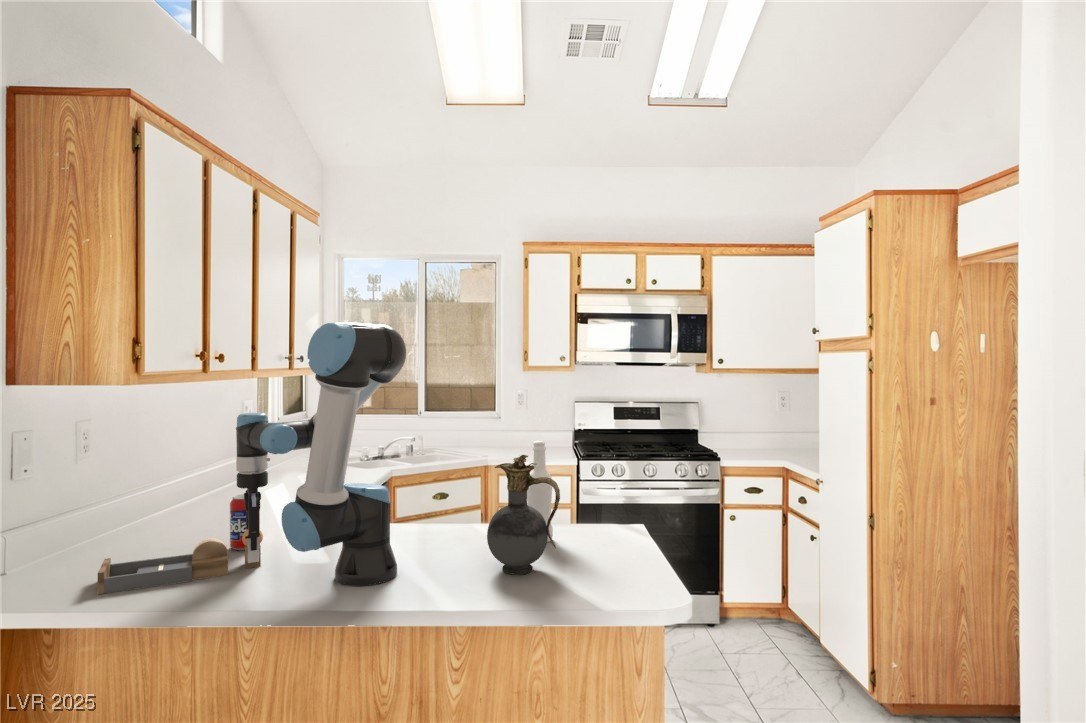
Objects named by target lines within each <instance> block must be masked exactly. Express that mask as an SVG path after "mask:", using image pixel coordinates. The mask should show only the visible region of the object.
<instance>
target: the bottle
mask: <svg viewBox="0 0 1086 723" xmlns="http://www.w3.org/2000/svg"><path fill="white" fill-rule="evenodd" d="M532 444H533V448H532V450H533V462H532V463H534V464H536V465H534V464H532V465H533V466H534V469H533V470H531V471H530V476H532V477H533V478H539V477H548V478H551V479H552V480H553V478H552V476H551V474H550V472H549V471H548V470H547V467H546V450H547V449H546V445H545V444H546V442H545V441H543V440H534V441H533V443H532ZM552 498H553V487H552V486H551V485H549V484H547V483H539V484H533V485H531V486H529V488H528V490H527V505H528V506H531V507H533V508H534V509H536V510H537V511H538V512H540V514H541V515H542V516H543V518H544V520H545V522H546V525H547V522H548V519H549V517H550V515H551V512H552ZM553 531H554V530H553V526H552V521H551V522H550V525H549V532H550V535H551V538H552V539H553V534H554V533H553ZM549 542H551V540H550V539H549V537H548V539H547V544H549Z"/></svg>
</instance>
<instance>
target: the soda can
mask: <svg viewBox="0 0 1086 723" xmlns="http://www.w3.org/2000/svg"><path fill="white" fill-rule="evenodd" d="M231 498H232V499H231V501H230V502H229V547H230V548H231V549H233V550H235V551H245V545H244V543H243V541H242V536H243V534H244V532H245V531H246V530H247V529H246V508H245V500H244V493H241V494H237V495H234V496H233V495H232V497H231ZM260 524H261V509H260V510H259V527H260V528H259V530H260V531H261V525H260Z"/></svg>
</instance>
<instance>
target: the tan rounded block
mask: <svg viewBox="0 0 1086 723" xmlns="http://www.w3.org/2000/svg"><path fill="white" fill-rule="evenodd" d="M192 554H193V556H192V581H193V580H200V579H206V578H207V579H208V578H216V577H221V576H228V575H229V558H228V548H227V545H226V544H225V543H224V542H223V541H222V540H221V539H218V538H212V537H211V538H207V539H204V540H202V541H200V542H198V543H197V544H196V546H195V547H194V549H193V552H192Z"/></svg>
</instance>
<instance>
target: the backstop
mask: <svg viewBox="0 0 1086 723" xmlns="http://www.w3.org/2000/svg"><path fill="white" fill-rule="evenodd" d="M110 564H112V563H111V557H110V558H104V560H103V562H102V563H101V565H100V567H99V570H98V572H97V595H105V594H104V578H106V577H110Z"/></svg>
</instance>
